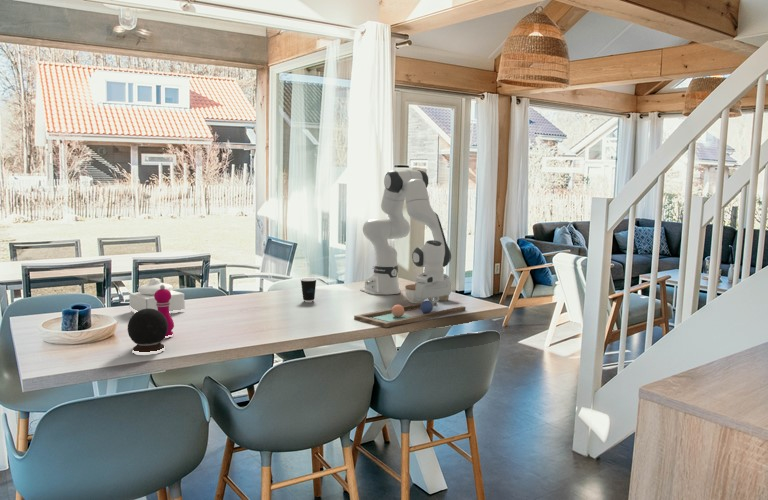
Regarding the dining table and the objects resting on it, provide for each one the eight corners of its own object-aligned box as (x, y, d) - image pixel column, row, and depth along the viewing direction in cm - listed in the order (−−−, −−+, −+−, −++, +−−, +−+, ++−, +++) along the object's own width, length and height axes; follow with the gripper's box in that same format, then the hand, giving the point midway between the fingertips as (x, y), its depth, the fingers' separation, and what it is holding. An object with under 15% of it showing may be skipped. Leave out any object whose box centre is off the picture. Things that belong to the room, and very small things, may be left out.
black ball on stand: (140, 358, 212) (138, 314, 210) (121, 351, 220) (119, 309, 219) (176, 350, 221) (174, 308, 220) (157, 344, 230) (155, 303, 228)
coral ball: (396, 301, 276) (400, 311, 278) (387, 308, 273) (391, 318, 275) (404, 303, 272) (408, 313, 274) (395, 310, 269) (399, 320, 271)
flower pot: (451, 298, 317) (451, 281, 316) (451, 301, 308) (451, 284, 307) (432, 297, 318) (432, 280, 317) (432, 301, 308) (432, 284, 307)
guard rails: (354, 319, 270) (354, 315, 270) (433, 303, 303) (433, 300, 303) (385, 327, 255) (385, 323, 255) (465, 310, 288) (465, 306, 288)
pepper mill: (157, 335, 243) (155, 283, 241) (176, 334, 244) (174, 283, 242) (152, 339, 236) (149, 286, 234) (171, 339, 237) (169, 286, 234)
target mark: (372, 317, 273) (372, 317, 273) (395, 313, 282) (395, 312, 282) (394, 323, 262) (394, 322, 262) (418, 318, 272) (418, 317, 272)
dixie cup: (306, 299, 314) (306, 277, 313) (320, 300, 311) (319, 278, 309) (297, 302, 307) (297, 279, 306) (311, 303, 303) (310, 280, 302)
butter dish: (167, 307, 296) (165, 273, 295) (185, 312, 284) (184, 277, 282) (129, 312, 284) (128, 277, 282) (147, 319, 271) (145, 282, 270)
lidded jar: (431, 301, 308) (432, 282, 307) (417, 305, 300) (417, 285, 299) (415, 298, 315) (415, 280, 314) (400, 302, 307) (400, 282, 306)
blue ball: (427, 297, 285) (423, 307, 287) (419, 300, 280) (416, 310, 283) (436, 303, 282) (433, 313, 284) (429, 306, 278) (426, 316, 280)
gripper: (444, 273, 296) (443, 302, 297) (413, 278, 282) (412, 308, 284) (454, 275, 291) (454, 304, 293) (423, 279, 278) (423, 310, 279)
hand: (433, 306), depth 288 cm, fingers closed
